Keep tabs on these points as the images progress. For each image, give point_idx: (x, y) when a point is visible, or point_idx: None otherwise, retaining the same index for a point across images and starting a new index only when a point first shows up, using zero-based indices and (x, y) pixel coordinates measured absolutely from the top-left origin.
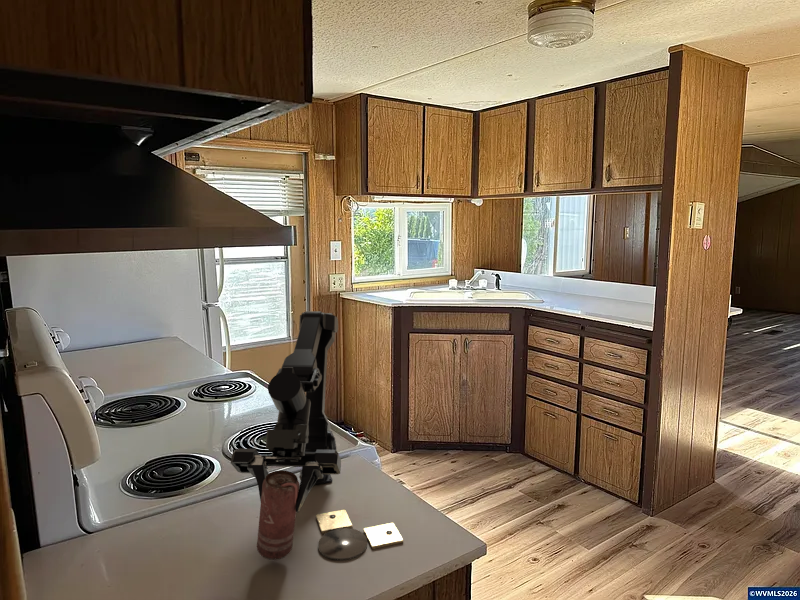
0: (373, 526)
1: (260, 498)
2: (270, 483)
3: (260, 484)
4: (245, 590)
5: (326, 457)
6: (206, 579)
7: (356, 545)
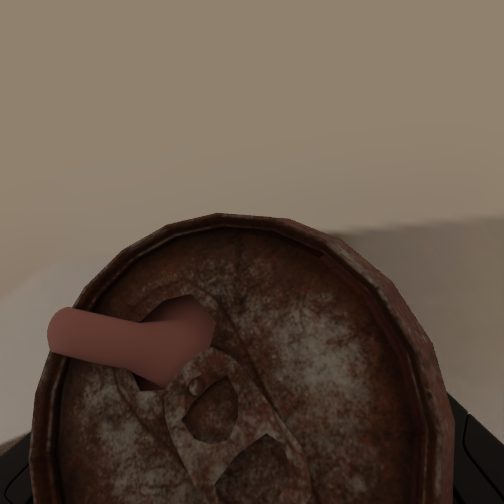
0: None
1: None
2: (319, 307)
3: (485, 455)
4: (347, 241)
5: None
6: (477, 272)
7: None
